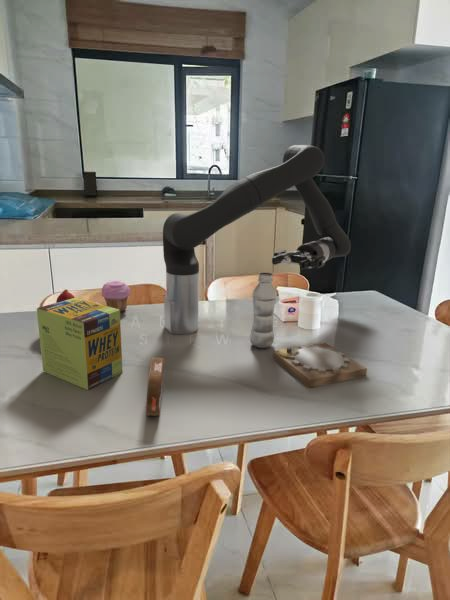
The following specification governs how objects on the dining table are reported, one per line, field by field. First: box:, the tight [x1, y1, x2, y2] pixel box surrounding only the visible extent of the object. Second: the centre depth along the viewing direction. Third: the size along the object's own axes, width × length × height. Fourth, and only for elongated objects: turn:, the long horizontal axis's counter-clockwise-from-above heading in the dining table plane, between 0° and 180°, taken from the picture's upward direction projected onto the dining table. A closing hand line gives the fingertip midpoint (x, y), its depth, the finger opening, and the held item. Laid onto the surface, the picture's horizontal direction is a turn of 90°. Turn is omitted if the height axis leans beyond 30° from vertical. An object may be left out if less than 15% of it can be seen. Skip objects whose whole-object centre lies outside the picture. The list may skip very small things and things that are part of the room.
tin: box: [145, 356, 165, 416], centre depth 87 cm, size 15×3×8 cm, turn 5°
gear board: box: [272, 342, 368, 389], centre depth 105 cm, size 16×16×4 cm
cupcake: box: [101, 280, 131, 313], centre depth 139 cm, size 9×9×10 cm
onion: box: [55, 288, 76, 303], centre depth 135 cm, size 6×6×8 cm
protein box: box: [36, 297, 124, 391], centre depth 97 cm, size 10×15×16 cm
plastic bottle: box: [249, 272, 278, 349], centre depth 114 cm, size 6×7×20 cm
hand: (287, 263), depth 119 cm, fingers open, 8 cm apart
